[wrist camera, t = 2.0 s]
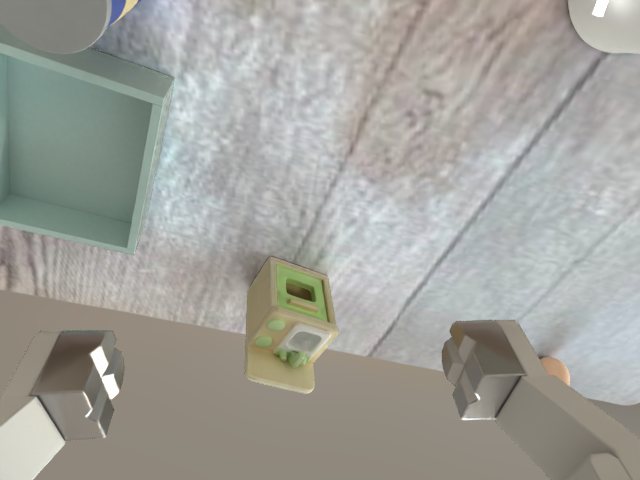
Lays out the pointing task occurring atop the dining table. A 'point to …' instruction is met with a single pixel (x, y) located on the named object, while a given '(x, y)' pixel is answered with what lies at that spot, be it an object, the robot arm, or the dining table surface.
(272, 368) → the toy sink
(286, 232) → the dining table surface
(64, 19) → the snack tube
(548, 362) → the egg
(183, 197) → the dining table surface
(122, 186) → the green tray
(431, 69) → the dining table surface
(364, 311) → the dining table surface
